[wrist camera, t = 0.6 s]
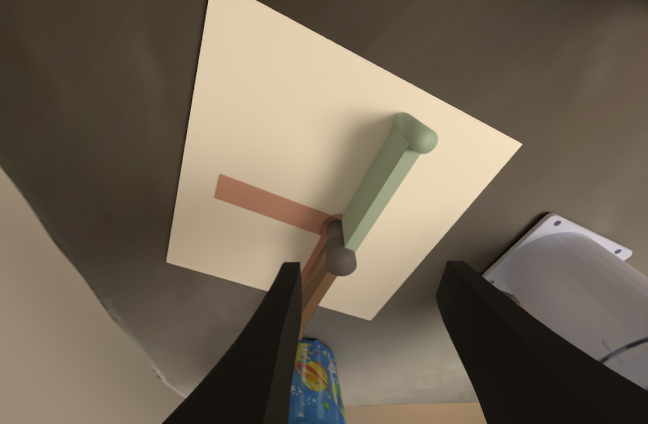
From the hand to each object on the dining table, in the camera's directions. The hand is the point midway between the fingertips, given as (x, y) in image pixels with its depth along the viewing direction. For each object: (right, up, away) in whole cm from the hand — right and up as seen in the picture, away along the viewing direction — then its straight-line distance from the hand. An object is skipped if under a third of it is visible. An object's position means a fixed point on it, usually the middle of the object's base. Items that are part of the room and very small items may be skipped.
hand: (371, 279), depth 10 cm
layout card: (-2, +3, +9) cm, 10 cm away
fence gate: (+1, +5, +7) cm, 9 cm away
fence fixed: (-2, -2, +12) cm, 12 cm away
